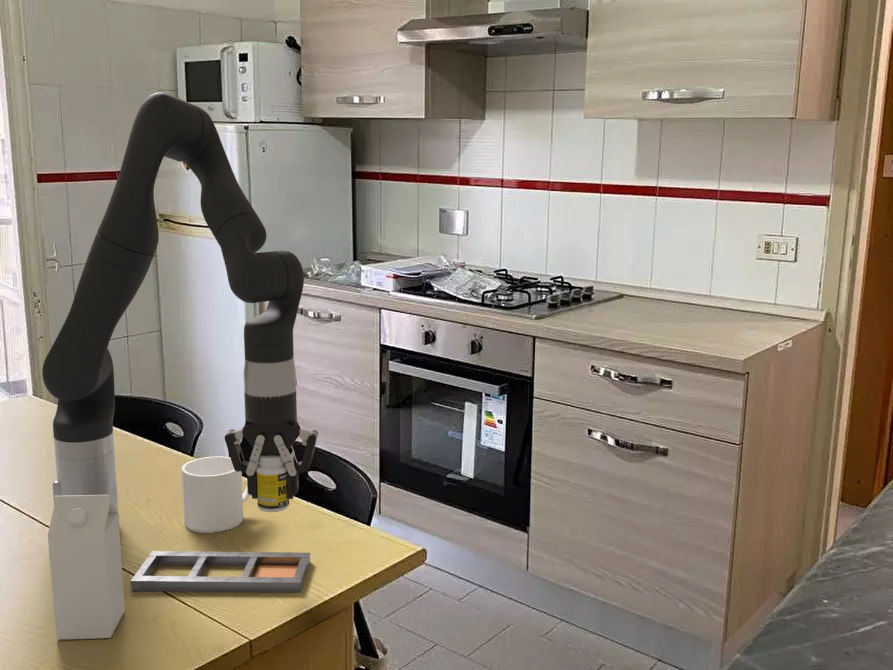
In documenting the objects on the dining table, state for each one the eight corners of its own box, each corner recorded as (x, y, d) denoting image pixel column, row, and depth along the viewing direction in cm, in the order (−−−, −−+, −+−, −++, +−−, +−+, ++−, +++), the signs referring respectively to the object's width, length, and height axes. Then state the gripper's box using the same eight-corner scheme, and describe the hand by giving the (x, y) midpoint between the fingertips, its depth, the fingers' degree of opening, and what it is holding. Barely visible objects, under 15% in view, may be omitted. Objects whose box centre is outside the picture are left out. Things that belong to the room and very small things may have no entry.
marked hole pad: (251, 585, 135) (251, 584, 135) (259, 567, 141) (259, 565, 141) (292, 586, 135) (292, 584, 135) (298, 567, 141) (298, 565, 141)
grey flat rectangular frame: (131, 590, 133) (130, 580, 133) (152, 560, 143) (152, 551, 143) (300, 592, 133) (300, 582, 133) (310, 562, 143) (310, 552, 143)
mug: (194, 538, 151) (191, 480, 149) (177, 517, 160) (174, 462, 158) (265, 522, 158) (264, 467, 156) (245, 503, 166) (243, 450, 164)
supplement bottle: (282, 514, 133) (280, 460, 132) (252, 511, 134) (250, 458, 133) (294, 502, 138) (292, 449, 136) (265, 499, 139) (263, 447, 137)
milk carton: (73, 613, 127) (63, 486, 123) (125, 612, 127) (116, 485, 123) (56, 641, 120) (44, 506, 116) (111, 639, 120) (101, 505, 116)
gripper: (215, 394, 129) (220, 506, 132) (315, 395, 129) (317, 507, 132) (227, 380, 136) (231, 487, 139) (322, 381, 136) (324, 488, 140)
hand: (273, 496), depth 136 cm, fingers closed on supplement bottle, 4 cm apart
